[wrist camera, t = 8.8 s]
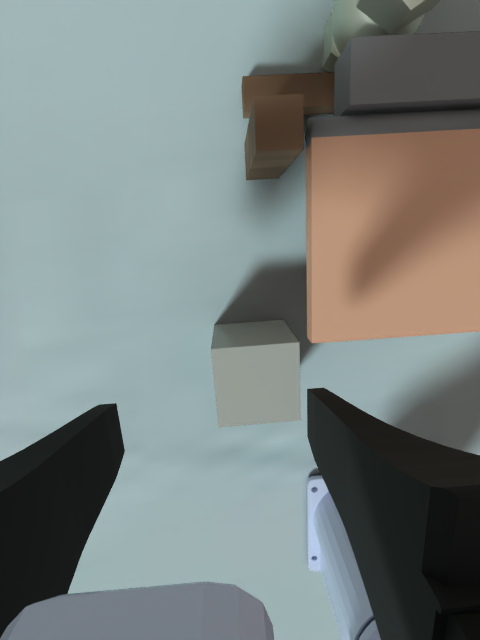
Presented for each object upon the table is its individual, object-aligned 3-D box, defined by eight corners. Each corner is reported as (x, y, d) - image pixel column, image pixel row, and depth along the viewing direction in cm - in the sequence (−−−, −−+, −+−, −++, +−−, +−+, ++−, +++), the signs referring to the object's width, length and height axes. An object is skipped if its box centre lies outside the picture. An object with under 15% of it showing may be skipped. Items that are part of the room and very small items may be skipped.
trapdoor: (476, 322, 18) (506, 332, 16) (304, 334, 18) (314, 346, 16) (512, 55, 15) (556, 28, 13) (302, 65, 14) (314, 38, 12)
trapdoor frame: (486, 166, 20) (607, 132, 13) (246, 180, 19) (256, 151, 13) (497, 74, 18) (638, -12, 12) (241, 87, 18) (250, 5, 12)
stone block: (285, 382, 23) (300, 420, 18) (220, 387, 23) (218, 427, 18) (283, 319, 22) (299, 342, 17) (214, 324, 22) (211, 349, 17)
